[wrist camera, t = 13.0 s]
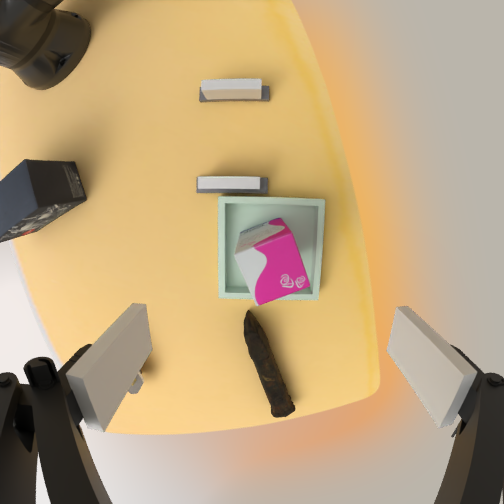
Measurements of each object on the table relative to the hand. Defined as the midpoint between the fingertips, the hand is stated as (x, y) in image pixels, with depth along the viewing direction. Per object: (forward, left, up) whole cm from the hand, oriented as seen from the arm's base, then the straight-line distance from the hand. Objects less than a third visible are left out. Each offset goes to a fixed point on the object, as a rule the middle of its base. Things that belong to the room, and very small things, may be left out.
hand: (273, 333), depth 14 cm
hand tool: (+19, +1, -25) cm, 31 cm away
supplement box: (0, +1, -24) cm, 24 cm away
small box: (-6, -33, -25) cm, 42 cm away
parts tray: (+1, +1, -25) cm, 25 cm away
